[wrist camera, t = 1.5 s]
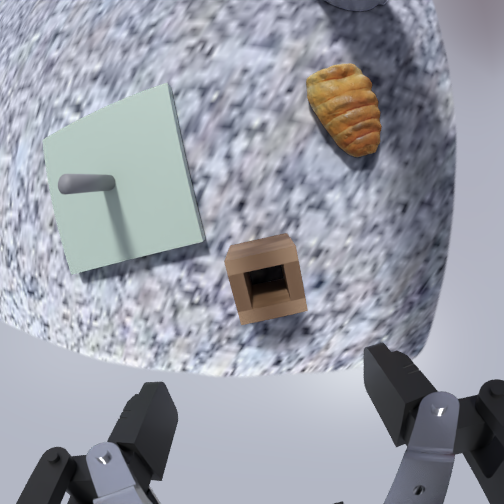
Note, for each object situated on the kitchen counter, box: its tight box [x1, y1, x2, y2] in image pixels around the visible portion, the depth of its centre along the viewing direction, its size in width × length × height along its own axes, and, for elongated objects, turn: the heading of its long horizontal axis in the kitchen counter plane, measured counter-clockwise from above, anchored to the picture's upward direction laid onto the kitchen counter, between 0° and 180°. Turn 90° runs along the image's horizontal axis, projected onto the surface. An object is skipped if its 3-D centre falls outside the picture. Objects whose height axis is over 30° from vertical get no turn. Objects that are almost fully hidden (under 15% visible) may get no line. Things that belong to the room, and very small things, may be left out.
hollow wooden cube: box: [224, 233, 308, 325], centre depth 26 cm, size 6×6×6 cm
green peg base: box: [43, 83, 205, 274], centre depth 22 cm, size 16×16×9 cm
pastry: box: [306, 63, 382, 157], centre depth 23 cm, size 9×7×4 cm
